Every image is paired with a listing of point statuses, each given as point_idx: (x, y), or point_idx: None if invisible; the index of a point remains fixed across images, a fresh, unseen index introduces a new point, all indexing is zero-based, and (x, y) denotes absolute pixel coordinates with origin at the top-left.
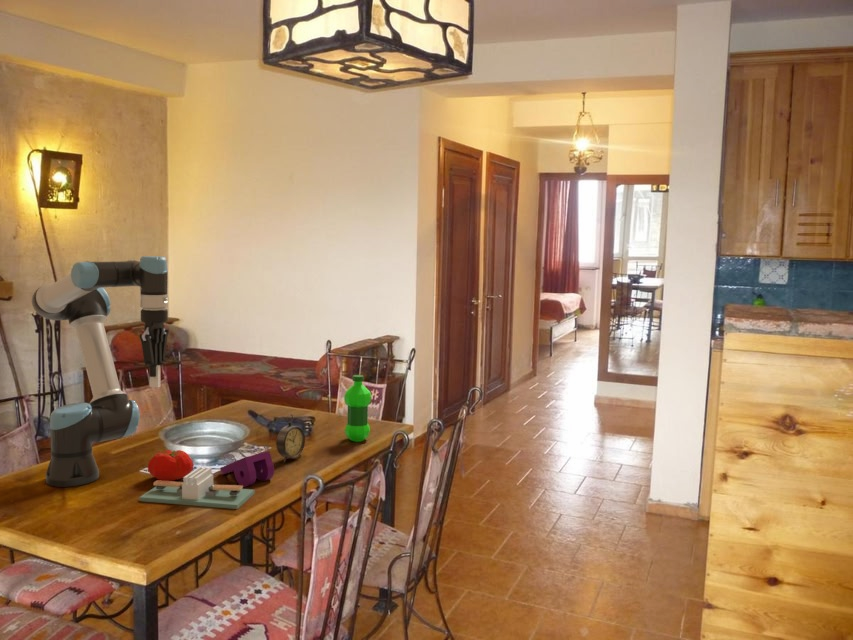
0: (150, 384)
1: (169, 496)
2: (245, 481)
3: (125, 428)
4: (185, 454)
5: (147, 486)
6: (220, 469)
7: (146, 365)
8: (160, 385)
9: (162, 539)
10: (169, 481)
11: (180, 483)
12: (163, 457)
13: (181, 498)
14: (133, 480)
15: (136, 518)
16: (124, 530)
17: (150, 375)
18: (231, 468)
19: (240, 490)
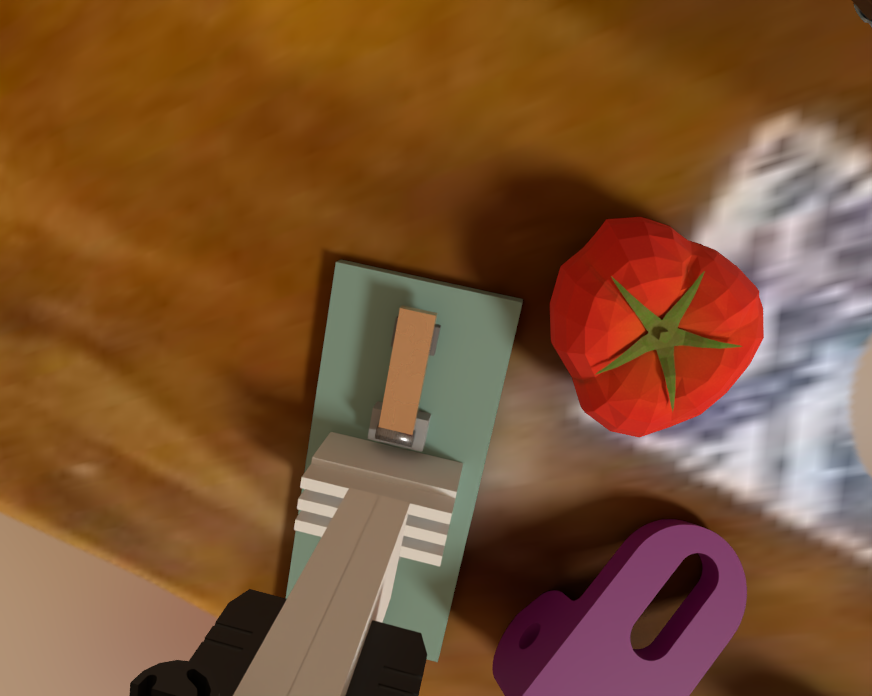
0: (338, 515)
1: (350, 379)
2: (513, 631)
3: (854, 1)
4: (641, 419)
5: (523, 234)
6: (658, 528)
7: (168, 671)
8: (386, 606)
9: (25, 436)
10: (420, 372)
11: (396, 423)
12: (580, 322)
13: (331, 429)
14: (612, 138)
15: (171, 304)
16: (67, 298)
17: (230, 613)
18: (584, 597)
19: (428, 617)
